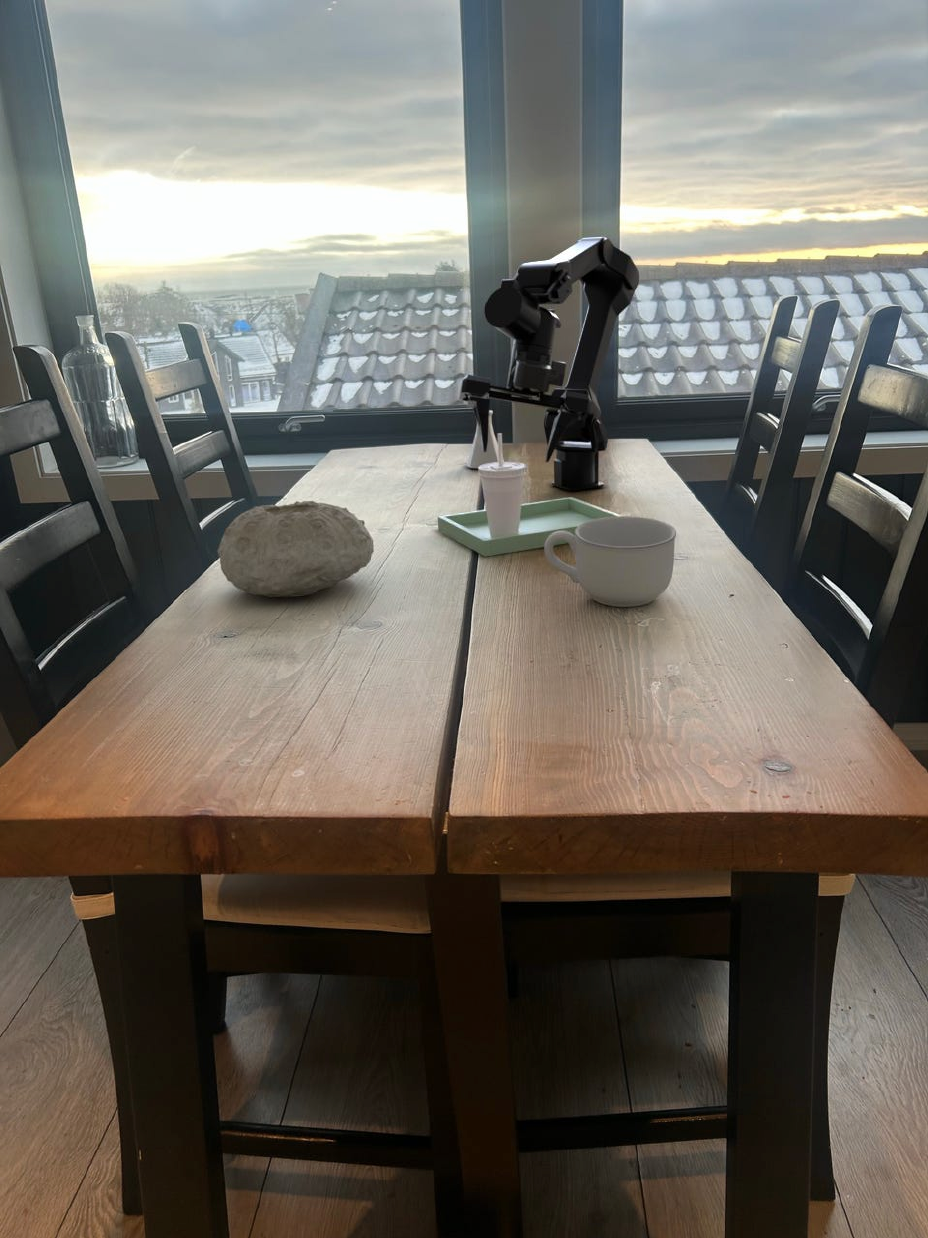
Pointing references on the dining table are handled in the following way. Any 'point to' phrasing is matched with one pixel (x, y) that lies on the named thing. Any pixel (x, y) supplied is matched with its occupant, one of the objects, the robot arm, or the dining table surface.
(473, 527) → the tray
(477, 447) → the flask
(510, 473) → the smoothie
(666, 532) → the teacup
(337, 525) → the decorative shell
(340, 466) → the dining table surface
